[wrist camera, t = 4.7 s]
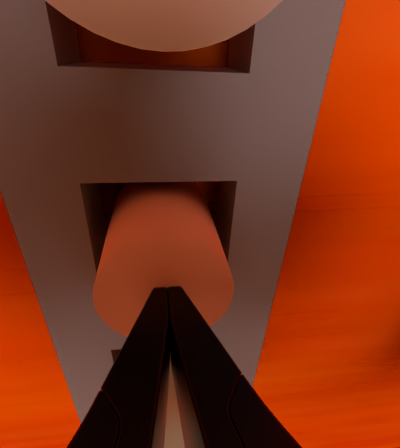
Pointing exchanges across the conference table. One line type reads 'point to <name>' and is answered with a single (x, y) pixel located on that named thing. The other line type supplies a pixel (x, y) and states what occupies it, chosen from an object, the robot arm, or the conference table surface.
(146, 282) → the button terracotta
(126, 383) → the robot arm
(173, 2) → the button offwhite
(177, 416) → the button sage
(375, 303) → the conference table surface
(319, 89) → the button board
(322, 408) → the conference table surface
